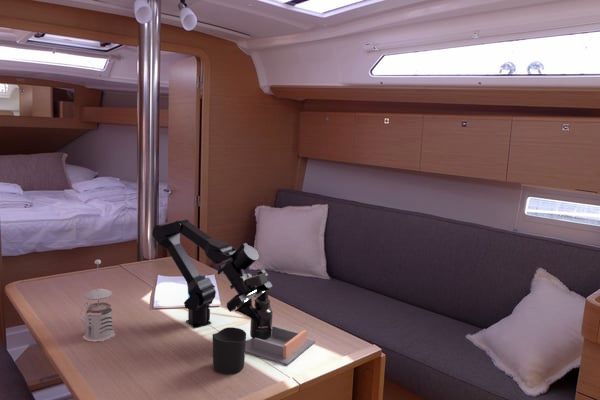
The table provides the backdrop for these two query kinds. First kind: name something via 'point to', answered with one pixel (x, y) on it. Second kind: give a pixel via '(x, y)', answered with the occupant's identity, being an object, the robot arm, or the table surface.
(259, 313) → the supplement bottle
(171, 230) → the robot arm
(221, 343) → the pen holder
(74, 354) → the table surface
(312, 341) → the bottle holder
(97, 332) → the french press
